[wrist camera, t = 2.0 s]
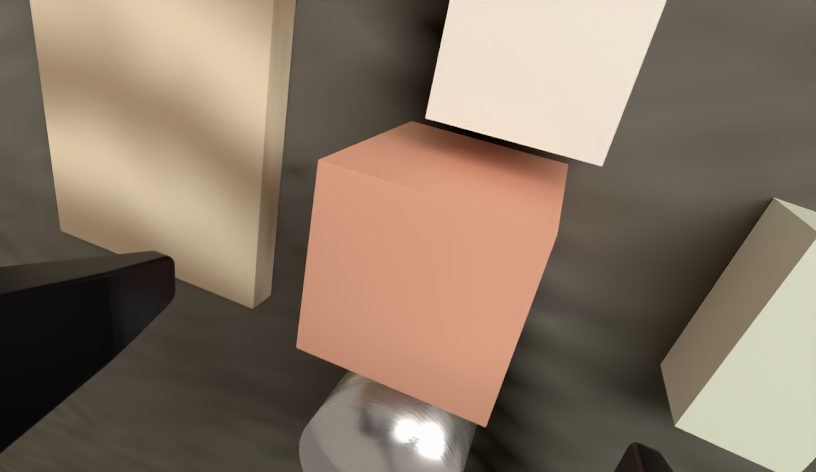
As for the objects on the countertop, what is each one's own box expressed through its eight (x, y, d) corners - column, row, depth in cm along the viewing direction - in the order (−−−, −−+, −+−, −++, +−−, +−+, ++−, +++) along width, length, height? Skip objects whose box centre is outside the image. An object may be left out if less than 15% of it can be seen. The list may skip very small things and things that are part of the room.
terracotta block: (518, 303, 16) (486, 427, 11) (384, 256, 17) (295, 348, 12) (568, 164, 14) (557, 234, 9) (412, 120, 15) (318, 160, 10)
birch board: (270, 295, 20) (252, 309, 19) (86, 221, 22) (60, 230, 21) (298, -29, 14) (275, -35, 13) (53, -81, 17) (18, -90, 16)
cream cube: (598, 135, 13) (602, 166, 10) (464, 101, 14) (425, 118, 11) (656, -22, 12) (686, -51, 8) (501, -49, 13) (467, -87, 9)
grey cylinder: (467, 446, 19) (431, 565, 15) (356, 397, 20) (292, 495, 16) (502, 349, 17) (472, 455, 12) (375, 301, 18) (308, 383, 14)
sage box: (756, 403, 15) (793, 479, 12) (659, 361, 15) (674, 426, 13) (895, 238, 12) (981, 290, 9) (771, 195, 13) (819, 233, 10)
